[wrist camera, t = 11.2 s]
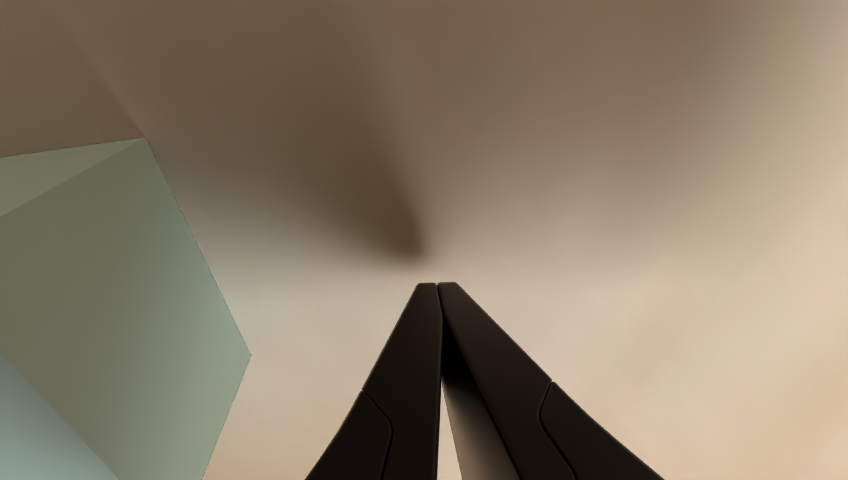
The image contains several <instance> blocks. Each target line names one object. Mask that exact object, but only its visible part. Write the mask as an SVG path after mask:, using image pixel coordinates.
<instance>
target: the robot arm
mask: <svg viewBox="0 0 848 480" xmlns="http://www.w3.org/2000/svg"><path fill="white" fill-rule="evenodd" d="M441 380H442V387H443V392H444V397H445V402H446V406H447V411H448V416H449V420H450V425H451V429H452V434H453V439H454V443H455V448H456V453H457V457H458V462H459V467H460V471H461V476H462V480H664V479H663V478H662V477H661V476H660V475H658V474H657V473H656V472H655V471H654V470H652V469H651V468H650V467H649V466H648V465H646V464H645V463H644V462H643V461H642V460H640V459H639V458H638V457H637V456H636V455H634V454H633V453H632V452H631V451H630V450H629V449H627V448H626V447H625V446H624V445H623V444H621V443H620V442H619V441H618V440H617V439H615V438H614V437H613V436H612V435H611V434H610V433H609V432H607V431H606V430H605V429H604V428H603V427H602V426H601V425H599V424H598V423H597V422H596V421H595V420H594V419H593V418H591V417H590V416H589V415H588V414H587V413H586V412H585V411H584V410H583V409H582V408H581V407H580V406H579V405H578V404H577V403H576V402H575V401H574V400H572V399H571V398H570V397H569V396H568V395H567V394H566V393H565V392H564V391H563V390H562V389H561V388H560V387H559V386H558V385H557V384H556V383H555V382H552V379H551V378H550V377H549V376H548V375H547V374H546V373H545V372H544V371H543V370H542V369H541V368H540V367H539V366H538V365H537V364H536V363H535V362H534V361H533V360H532V359H531V358H530V357H529V356H528V355H527V353H526V352H525V351H524V350H523V349H522V348H521V347H520V346H519V345H518V344H517V343H516V342H515V341H514V340H513V339H512V338H511V337H510V336H509V335H508V334H507V333H506V332H505V331H504V330H503V329H502V328H501V327H500V326H499V325H498V324H497V323H496V322H495V321H494V320H493V319H492V318H491V317H490V316H489V315H488V314H487V313H486V312H485V311H484V310H483V309H482V308H481V307H480V306H479V305H478V304H477V303H476V302H475V301H474V300H473V299H472V298H471V297H470V296H469V295H468V294H467V293H466V292H465V291H464V290H463V289H462V288H461V287H460V286H459V285H458V284H457V283H456V282H440V283H438V284H437V285H436V284H435V283H419V284H417V286H416V288H415V290H414V291H413V293H412V295H411V297H410V299H409V301H408V303H407V305H406V306H405V308H404V310H403V312H402V314H401V316H400V318H399V320H398V322H397V323H396V325H395V327H394V329H393V331H392V333H391V335H390V337H389V338H388V340H387V342H386V344H385V346H384V348H383V350H382V352H381V354H380V355H379V357H378V359H377V361H376V363H375V365H374V367H373V369H372V370H371V372H370V374H369V376H368V378H367V380H366V382H365V384H364V386H363V387H362V391H361V392H360V393H359V395H358V396H357V398H356V400H355V402H354V404H353V406H352V408H351V409H350V411H349V413H348V415H347V416H346V418H345V420H344V422H343V423H342V425H341V427H340V428H339V430H338V432H337V433H336V435H335V436H334V438H333V439H332V441H331V442H330V444H329V445H328V447H327V448H326V450H325V451H324V453H323V454H322V456H321V457H320V459H319V460H318V462H317V463H316V464H315V466H314V467H313V469H312V470H311V471H310V473H309V474H308V476H307V477H306V479H305V480H437V474H438V450H439V427H440V403H441Z"/></svg>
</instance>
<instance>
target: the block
mask: <svg viewBox="0 0 848 480" xmlns="http://www.w3.org/2000/svg"><path fill="white" fill-rule="evenodd" d="M251 356H252V355H251V353H250V351H249V349H248V347H247V345H246V343H245V341H244V339H243V337H242V335H241V333H240V331H239V329H238V327H237V325H236V322H235V320H234V318H233V316H232V314H231V312H230V310H229V308H228V306H227V304H226V302H225V300H224V298H223V296H222V294H221V292H220V290H219V287H218V285H217V283H216V281H215V279H214V277H213V275H212V273H211V271H210V269H209V267H208V265H207V263H206V261H205V259H204V257H203V255H202V253H201V250H200V248H199V246H198V244H197V242H196V240H195V238H194V236H193V234H192V232H191V230H190V228H189V226H188V224H187V222H186V220H185V218H184V215H183V213H182V211H181V209H180V207H179V205H178V203H177V201H176V199H175V197H174V195H173V193H172V191H171V189H170V187H169V185H168V183H167V181H166V178H165V176H164V174H163V172H162V170H161V168H160V166H159V164H158V162H157V160H156V158H155V156H154V154H153V152H152V150H151V148H150V146H149V143H148V141H147V139H146V137H144V138H137V139H129V140H122V141H115V142H108V143H101V144H94V145H87V146H80V147H72V148H65V149H58V150H51V151H44V152H37V153H30V154H23V155H16V156H8V157H1V158H0V480H202V478H203V475H204V473H205V470H206V468H207V465H208V463H209V460H210V458H211V455H212V453H213V450H214V448H215V445H216V443H217V440H218V438H219V435H220V433H221V430H222V428H223V425H224V423H225V420H226V418H227V415H228V413H229V410H230V408H231V405H232V403H233V400H234V398H235V395H236V393H237V390H238V388H239V385H240V383H241V380H242V378H243V375H244V373H245V370H246V368H247V365H248V363H249V361H250V358H251Z"/></svg>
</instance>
